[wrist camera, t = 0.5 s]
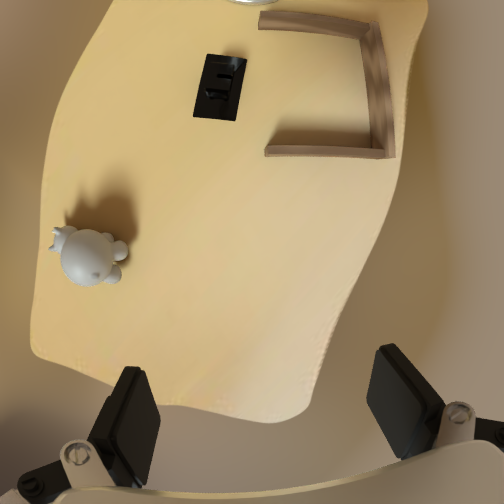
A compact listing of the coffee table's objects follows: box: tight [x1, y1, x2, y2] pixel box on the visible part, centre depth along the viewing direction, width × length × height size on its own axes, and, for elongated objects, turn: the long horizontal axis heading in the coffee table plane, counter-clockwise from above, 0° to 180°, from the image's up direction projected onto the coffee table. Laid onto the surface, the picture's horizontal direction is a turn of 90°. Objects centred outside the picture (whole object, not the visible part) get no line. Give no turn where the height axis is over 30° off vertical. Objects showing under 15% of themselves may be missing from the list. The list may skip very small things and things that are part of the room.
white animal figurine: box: [48, 226, 128, 287], centre depth 34 cm, size 7×12×8 cm, turn 63°
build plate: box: [193, 54, 247, 121], centre depth 31 cm, size 12×7×5 cm, turn 170°
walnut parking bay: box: [258, 11, 396, 159], centre depth 31 cm, size 20×16×5 cm
